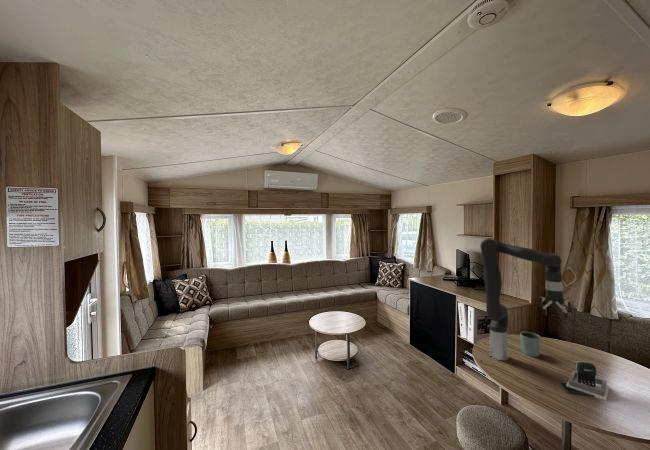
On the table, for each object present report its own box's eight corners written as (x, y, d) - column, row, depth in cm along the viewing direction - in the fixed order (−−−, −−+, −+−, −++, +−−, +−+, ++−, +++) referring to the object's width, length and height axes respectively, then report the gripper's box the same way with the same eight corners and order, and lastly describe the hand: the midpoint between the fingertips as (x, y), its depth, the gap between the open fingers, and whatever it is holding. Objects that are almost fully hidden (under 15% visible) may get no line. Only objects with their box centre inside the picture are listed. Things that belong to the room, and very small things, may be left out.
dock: (566, 387, 134) (566, 380, 134) (571, 376, 143) (571, 369, 143) (606, 400, 123) (606, 393, 123) (609, 387, 132) (608, 380, 132)
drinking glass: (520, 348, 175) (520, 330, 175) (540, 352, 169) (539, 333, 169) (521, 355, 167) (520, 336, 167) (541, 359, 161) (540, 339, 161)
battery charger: (580, 386, 133) (579, 363, 133) (576, 381, 136) (575, 359, 136) (598, 388, 130) (597, 365, 130) (594, 384, 134) (593, 361, 134)
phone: (558, 382, 138) (596, 387, 132) (559, 384, 138) (596, 389, 132) (566, 391, 130) (606, 397, 125) (566, 393, 130) (606, 399, 125)
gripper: (536, 288, 152) (538, 315, 153) (569, 292, 141) (571, 322, 141) (540, 285, 157) (541, 312, 157) (572, 289, 146) (573, 318, 146)
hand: (555, 317), depth 149 cm, fingers open, 8 cm apart
